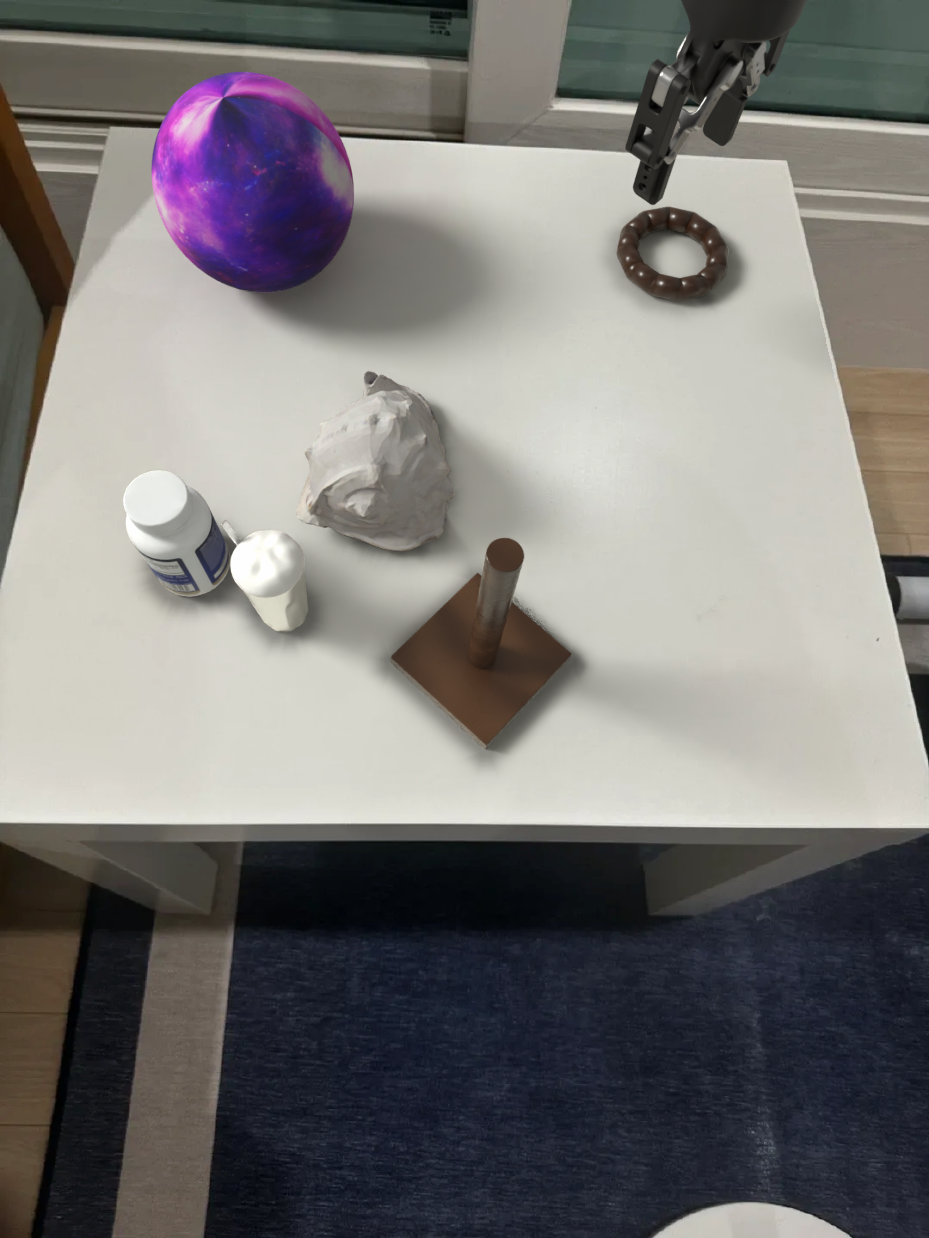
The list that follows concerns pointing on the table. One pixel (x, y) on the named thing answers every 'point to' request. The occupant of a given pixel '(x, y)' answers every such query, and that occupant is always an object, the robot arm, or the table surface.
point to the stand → (483, 650)
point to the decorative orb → (252, 182)
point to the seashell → (379, 470)
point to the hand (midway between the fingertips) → (681, 167)
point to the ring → (665, 283)
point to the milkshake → (271, 576)
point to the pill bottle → (175, 533)
